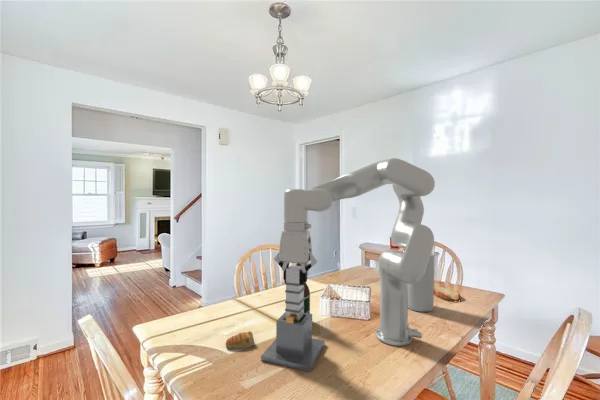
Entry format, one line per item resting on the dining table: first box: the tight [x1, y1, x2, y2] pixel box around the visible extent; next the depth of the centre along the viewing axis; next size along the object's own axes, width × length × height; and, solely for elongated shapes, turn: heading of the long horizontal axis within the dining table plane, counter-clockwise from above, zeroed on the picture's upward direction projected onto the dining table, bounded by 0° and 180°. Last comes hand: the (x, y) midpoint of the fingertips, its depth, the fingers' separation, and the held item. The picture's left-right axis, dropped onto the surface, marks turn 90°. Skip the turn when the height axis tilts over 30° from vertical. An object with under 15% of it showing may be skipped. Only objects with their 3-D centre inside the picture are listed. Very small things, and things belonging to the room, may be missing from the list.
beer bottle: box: [295, 263, 311, 314], centre depth 115 cm, size 8×8×24 cm
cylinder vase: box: [407, 252, 435, 313], centre depth 131 cm, size 12×12×25 cm
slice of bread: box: [434, 285, 462, 302], centre depth 148 cm, size 18×18×4 cm
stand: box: [260, 311, 326, 373], centre depth 92 cm, size 16×16×13 cm
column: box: [284, 265, 305, 322], centre depth 92 cm, size 5×5×18 cm
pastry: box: [225, 330, 255, 350], centre depth 97 cm, size 9×7×4 cm
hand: (295, 282), depth 92 cm, fingers closed on column, 4 cm apart
